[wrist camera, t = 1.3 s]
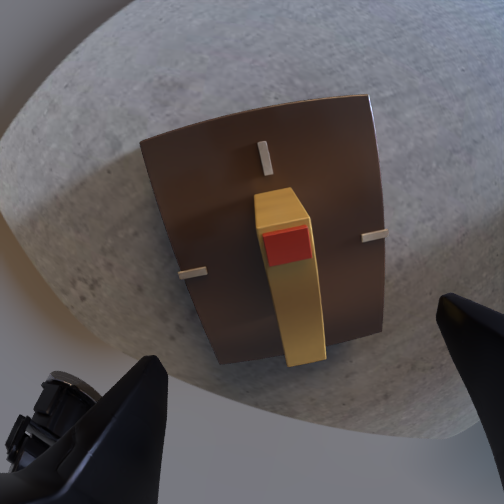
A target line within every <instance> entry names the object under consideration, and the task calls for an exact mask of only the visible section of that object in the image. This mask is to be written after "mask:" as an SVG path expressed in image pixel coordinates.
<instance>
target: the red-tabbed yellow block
mask: <svg viewBox="0 0 504 504" xmlns="http://www.w3.org/2000/svg"><path fill="white" fill-rule="evenodd" d="M254 208H255V224H256V232H257V237H258V241H259V245H260V249H261V254H262V258H263V262H264V267H265V271H266V275H267V280H268V284H269V288H270V293H271V297H272V301H273V306H274V310H275V315H276V319H277V323H278V328H279V332H280V337H281V341H282V345H283V350H284V354H285V359H286V363H287V366H288V367H292V366H297V365H302V364H307V363H312V362H317V361H321V360H325V359H326V347H325V335H324V324H323V314H322V304H321V295H320V286H319V277H318V269H317V262H316V254H315V247H314V240H313V233H312V226H311V220H310V217H309V215H308V214H307V212H306V210H305V209H304V207H303V206H302V204H301V202H300V201H299V199H298V198H297V196H296V195H295V193H294V192H293V190H292V189H291V188H290V187H289V188H284V189H279V190H274V191H270V192H265V193H260V194H255V195H254Z"/></svg>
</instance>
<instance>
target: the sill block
mask: <svg viewBox="0 0 504 504" xmlns="http://www.w3.org/2000/svg"><path fill="white" fill-rule="evenodd" d="M140 147H141V151H142V154H143V158H144V161H145V165H146V168H147V172H148V175H149V178H150V182H151V185H152V188H153V191H154V195H155V198H156V201H157V204H158V207H159V210H160V213H161V216H162V219H163V222H164V225H165V228H166V231H167V234H168V237H169V240H170V243H171V245H172V248H173V251H174V254H175V257H176V259H177V262H178V265H179V267H180V270H181V272H178V275H179V278H180V280H181V279H184V281H185V283H186V286H187V288H188V291H189V293H190V296H191V299H192V301H193V303H194V306H195V308H196V311H197V313H198V316H199V318H200V321H201V323H202V325H203V328H204V330H205V332H206V335H207V337H208V339H209V342H210V344H211V346H212V349H213V351H214V353H215V355H216V357H217V360H218V362H219V364H229V363H237V362H244V361H250V360H257V359H263V358H269V357H275V356H280V355H285V354H284V350H283V345H282V341H281V337H280V332H279V328H278V323H277V319H276V315H275V310H274V306H273V301H272V297H271V293H270V288H269V284H268V280H267V275H266V271H265V267H264V262H263V258H262V254H261V249H260V245H259V241H258V237H257V232H256V224H255V208H254V195H255V194H260V193H265V192H270V191H274V190H279V189H284V188H289V187H290V188H291V189H292V190H293V192H294V193H295V195H296V196H297V198H298V199H299V201H300V202H301V204H302V206H303V207H304V209H305V210H306V212H307V214H308V215H309V217H310V220H311V226H312V233H313V240H314V247H315V254H316V262H317V269H318V277H319V286H320V295H321V304H322V314H323V324H324V335H325V346H329V345H333V344H337V343H341V342H345V341H349V340H353V339H357V338H361V337H365V336H368V335H372V334H376V333H379V332H382V323H383V308H384V288H385V237H388V229H385V227H384V206H383V192H382V180H381V170H380V161H379V153H378V145H377V138H376V131H375V125H374V119H373V113H372V108H371V103H370V98H369V95H368V94H361V95H347V96H336V97H327V98H318V99H310V100H303V101H296V102H290V103H284V104H278V105H272V106H267V107H262V108H257V109H252V110H247V111H243V112H238V113H234V114H230V115H225V116H221V117H217V118H214V119H210V120H206V121H202V122H199V123H195V124H192V125H188V126H185V127H182V128H178V129H175V130H172V131H169V132H166V133H163V134H160V135H157V136H154V137H151V138H148V139H145V140H143V141H141V142H140Z"/></svg>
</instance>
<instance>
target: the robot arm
mask: <svg viewBox="0 0 504 504" xmlns="http://www.w3.org/2000/svg"><path fill="white" fill-rule="evenodd" d="M436 321H437V324H438V326H439V329H440V331H441V333H442V336H443V338H444V340H445V343H446V345H447V348H448V350H449V353H450V355H451V357H452V360H453V362H454V364H455V366H456V368H457V370H458V372H459V374H460V376H461V378H462V380H463V382H464V384H465V386H466V388H467V391H468V393H469V395H470V397H471V399H472V402H473V404H474V406H475V408H476V411H477V413H478V415H479V418H480V420H481V423H482V425H483V428H484V430H485V433H486V436H487V438H488V441H489V444H490V446H491V449H492V452H493V455H494V459H495V462H496V465H497V469H498V472H499V475H500V479H501V482H502V486H503V490H504V314H501V313H499V312H497V311H494V310H492V309H490V308H487V307H485V306H483V305H480V304H478V303H476V302H473V301H471V300H468V299H466V298H464V297H461V296H459V295H456V294H454V293H447V294H444V295H442V296H441V297H440V298H439V303H438V308H437V313H436ZM41 386H42V387H43V389H44V390H43V391H42V393H41V395H40V397H39V399H38V401H37V402H36V404H35V406H34V411H35V413H34V415H33V417H32V419H31V418H30V417H29V416H26V417H24V416H22V415H19V416H18V418H17V420H16V422H15V424H14V426H13V428H12V430H11V433H10V435H9V437H8V439H7V441H6V444H5V446H6V448H7V454H8V456H7V461H9V462H10V463H12V464H11V466H10V469H9V472H8V473H0V504H157V503H158V491H159V481H160V471H161V461H162V453H163V445H164V436H165V429H166V421H167V398H168V374H167V372H166V370H165V368H164V367H163V365H162V363H161V362H160V360H159V358H158V357H157V356H155V355H150V356H144V357H142V358H141V359H140V360H139V361H138V362H137V363H136V364H135V365H134V366H133V367H132V368H131V369H130V370H129V371H128V372H127V373H126V374H125V375H124V376H123V377H122V378H121V379H120V380H119V381H118V382H117V383H116V384H115V385H114V386H113V387H112V388H111V389H110V390H109V391H108V392H107V393H106V394H105V395H104V396H103V397H102V398H101V399H100V400H99V401H98V402H97V403H96V404H95V405H93V404H92V403H91V402H90V401H89V400H88V399H87V397H86V396H85V395H84V394H83V393H82V392H81V391H80V389H79V388H78V387H76V386H74V385H65V384H55V383H46V382H43V383H42V385H41ZM25 431H27V432H28V433H30V434H31V435H30V436H29V435H27V434H26V433H25Z"/></svg>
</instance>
